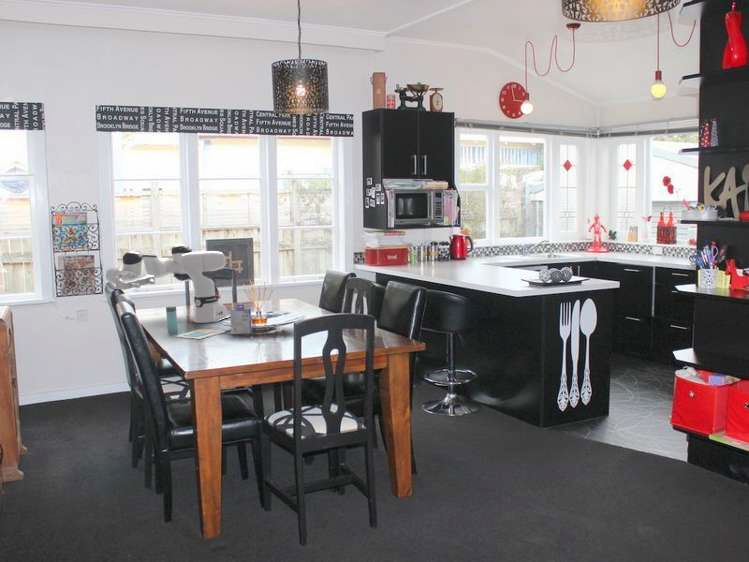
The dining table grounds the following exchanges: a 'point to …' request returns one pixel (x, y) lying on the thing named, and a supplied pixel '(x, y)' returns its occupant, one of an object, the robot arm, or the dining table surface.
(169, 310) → the teal canister
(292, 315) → the dining table surface
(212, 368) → the dining table surface
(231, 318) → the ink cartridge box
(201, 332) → the picture board
